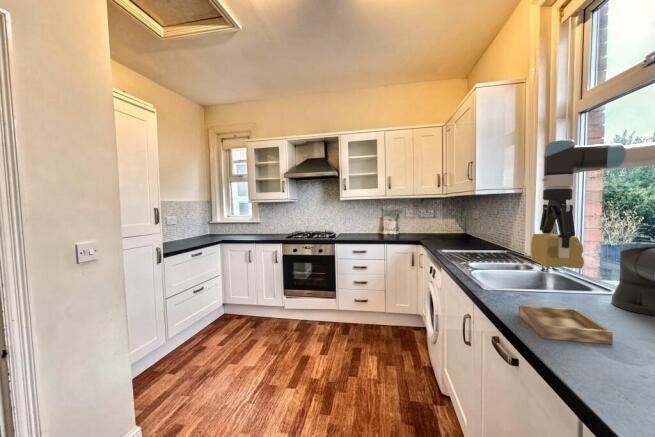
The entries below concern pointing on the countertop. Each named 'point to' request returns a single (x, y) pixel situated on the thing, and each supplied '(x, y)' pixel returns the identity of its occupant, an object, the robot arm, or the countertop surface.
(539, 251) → the cheese
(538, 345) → the countertop surface
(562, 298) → the countertop surface
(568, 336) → the wooden tray
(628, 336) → the countertop surface
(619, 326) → the countertop surface
